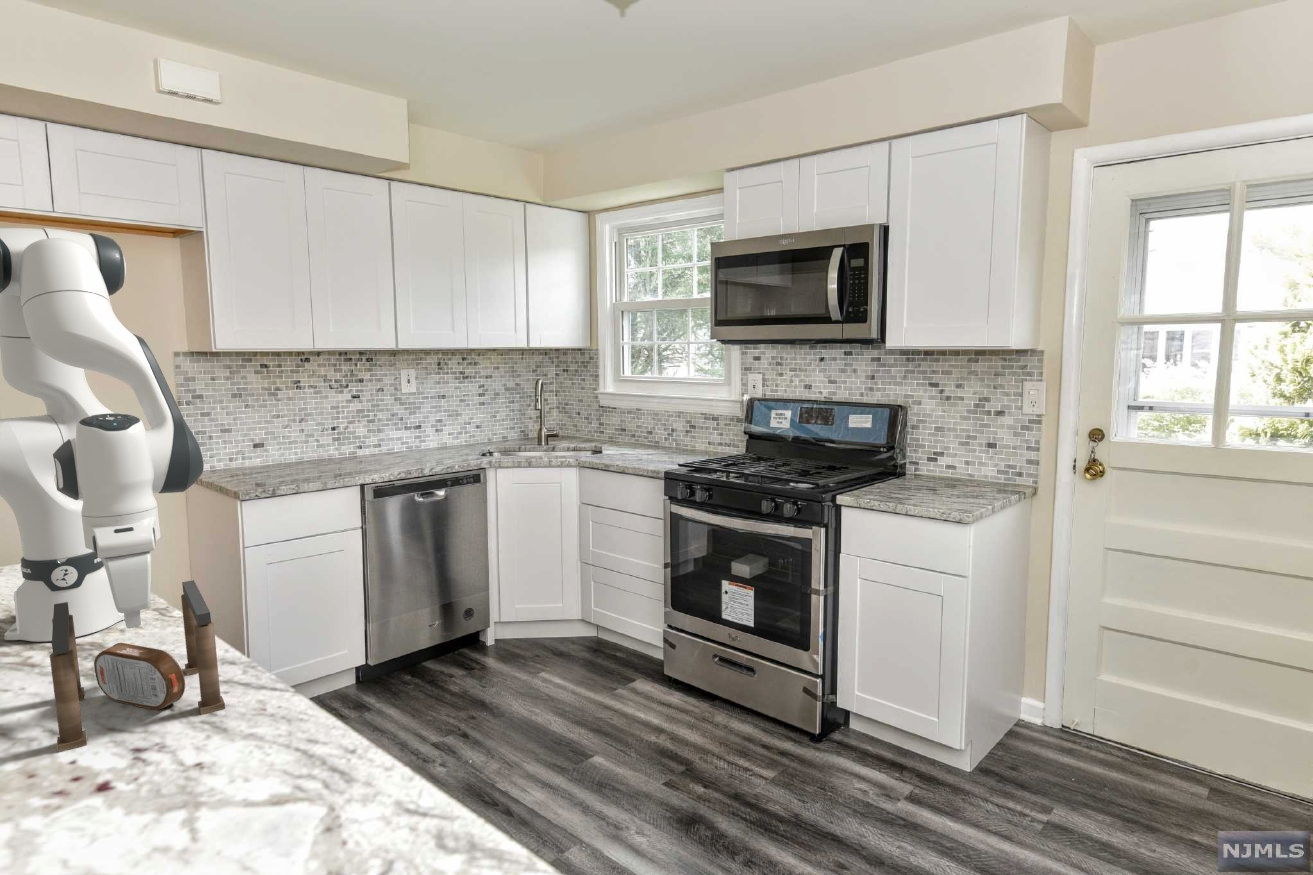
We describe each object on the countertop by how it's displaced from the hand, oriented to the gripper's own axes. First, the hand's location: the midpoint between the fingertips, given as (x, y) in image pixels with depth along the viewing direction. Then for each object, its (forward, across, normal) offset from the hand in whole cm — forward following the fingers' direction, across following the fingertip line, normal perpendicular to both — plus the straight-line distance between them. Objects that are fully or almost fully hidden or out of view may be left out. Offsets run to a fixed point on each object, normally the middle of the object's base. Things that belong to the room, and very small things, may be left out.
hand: (133, 624), depth 111 cm
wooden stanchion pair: (+12, 0, 0) cm, 12 cm away
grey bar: (-1, 0, -8) cm, 8 cm away
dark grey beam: (-1, 0, +8) cm, 8 cm away
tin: (+12, 0, 0) cm, 12 cm away
